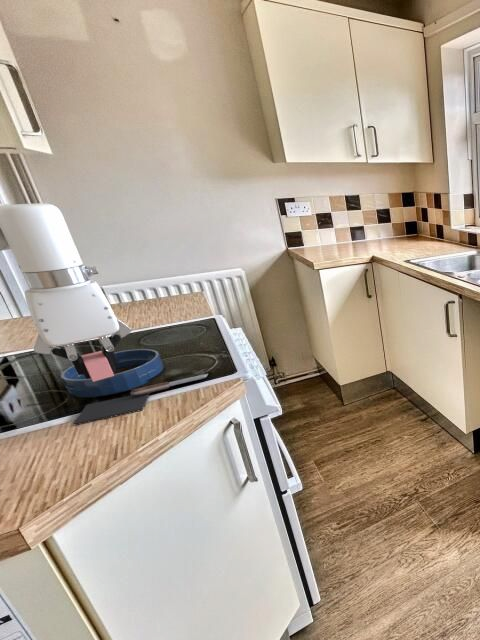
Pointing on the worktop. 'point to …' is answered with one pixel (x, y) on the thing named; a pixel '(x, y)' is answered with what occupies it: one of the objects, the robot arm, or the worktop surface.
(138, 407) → the mat
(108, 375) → the eraser
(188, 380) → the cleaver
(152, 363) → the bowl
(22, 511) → the worktop surface
